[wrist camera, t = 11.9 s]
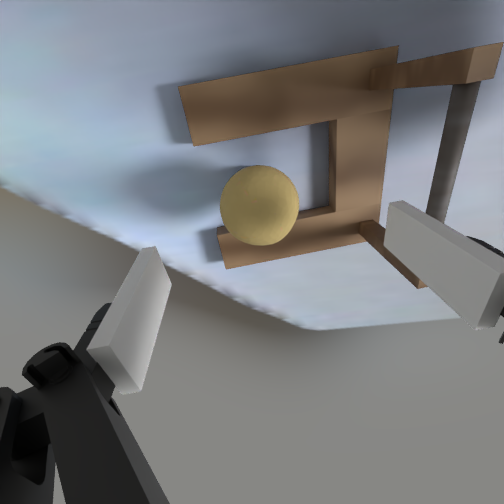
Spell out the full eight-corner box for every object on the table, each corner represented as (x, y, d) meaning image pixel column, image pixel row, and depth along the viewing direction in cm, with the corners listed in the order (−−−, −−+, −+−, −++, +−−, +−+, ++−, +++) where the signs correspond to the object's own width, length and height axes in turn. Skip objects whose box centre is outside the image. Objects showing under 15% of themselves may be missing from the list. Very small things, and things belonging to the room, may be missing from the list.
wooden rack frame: (181, 87, 22) (148, 75, 12) (384, 49, 22) (528, 5, 12) (225, 260, 31) (229, 338, 21) (368, 231, 31) (441, 295, 21)
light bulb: (227, 142, 24) (232, 165, 16) (288, 160, 26) (323, 190, 17) (213, 204, 27) (211, 251, 19) (269, 217, 29) (290, 265, 20)
